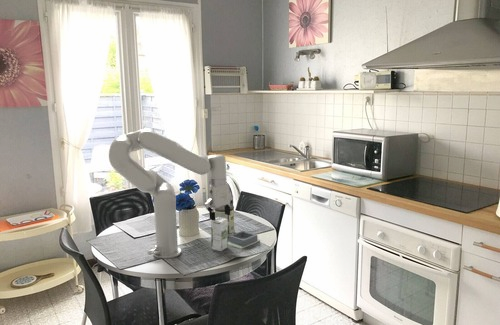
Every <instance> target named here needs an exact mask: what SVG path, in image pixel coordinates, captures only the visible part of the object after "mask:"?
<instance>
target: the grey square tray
mask: <svg viewBox="0 0 500 325" xmlns="http://www.w3.org/2000/svg"><path fill="white" fill-rule="evenodd" d="M241 238H246V239H241ZM258 239H259V236H258V234H255V233H252V232H249V231H245V230H241V231H239V232H235V233H234V234H232V235H229V236H228V242H231V243H234V244H237V245H240V246H243V247H244V246H246V245H249V244H251V243H254V242H256V241H258ZM256 243H257V242H256ZM254 244H255V243H254ZM249 246H250V245H249Z"/></svg>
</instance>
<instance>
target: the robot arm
mask: <svg viewBox="0 0 500 325" xmlns="http://www.w3.org/2000/svg"><path fill="white" fill-rule="evenodd" d="M142 149H144V150H145V151H149V152H150V153H153V154H155V155H158V156H159V157H160V158H161V157H162V158H164V159H166V160H168V161H170V162H172V163H174V164H176V165H178V166H180V167H182V168H183V169H186V170H188V171H190V172H193V173H195V174H197V175H201V176H204V175H206V174H207V173H209V180H210V181H209V182H208V185H209V184H210V185H209V189H208V199H207V201H206V202H205V203H204V207H205V209H206V211H208V212H209V214H208V215H209V220H210V221H211V220H215V208H218V207H221V206H225V205H226V206H225V214H226V215H230V207H231V205H232V203H233V200H234V196H233V195H231V190H230V186H229V183H228V182H227V163H226V162H227V160H226V159H227V158H226V156H225V155H224V154H211V155H208V154H207V155H205V154H199V155H198V154H196V153H195V152H194V153H193V152H192V151H190V150H188V149H186V148H185V147H183V145H181V144H180V143H178V142H177V141H175V140H172V139H170V138H168V137H166V136H163V135H162V134H159V133H157V132H155V131H154V130H153V129H151V128H148V127H147V128H142V129H139V130H136V131H133V132H129V133H126V134H122V135H120V136H119V135H118V136H117V137H116V138H114V140H113V141H112V142H111V144H110V147H109V149H108V150H109V151H108V160H109V163H110V166H111V167H112V168H113V169H114V171H116V172H117V173H118V174H119V175H120V176H121V177H122V178H124V179H126V181H127V182H128V183H130V184H131V185H133V187H135V188H136V189H137V190H139V191H140V192H141V193H146V194H147V193H148V194H150V196H152V197H153V207H154V208H153V210H154V223H155V226H154V227H155V243H156V245H154V246H153V248H152V249H149V250H147V255H148V256H150V255H153V256H154V257H155V258H157V259H165V260H167V259H173V258H176V257H178V256H180V255H181V254H182V248H180V247H179V245H178V224H177V223H178V222H177V197H176V193H175V189H174V187H173V186H172V184H171V183H170V182H168V181H167V180H166V179H165V178H163V177H162V176H161V175H159V174H158V173H157V172H156V171H155V170H153V169H151V168H149V167H148V168H144V167H143V166H142V165H140V164H139V163H138V162H137V161H135V159H133V158H132V157H131V154H130V153H133V152H137V151H139V150H140V151H141V150H142Z"/></svg>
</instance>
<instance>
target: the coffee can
mask: <svg viewBox="0 0 500 325" xmlns="http://www.w3.org/2000/svg"><path fill="white" fill-rule="evenodd" d="M225 206H226V205H225ZM225 206H221V207H218V208H215V210H214V212H215V218H217V217H221V218H225V219H228V237H229V236H230V235H232V234H235V233H236V232H235V206H234V205H233V204H231V207H230V215H226V214H225Z"/></svg>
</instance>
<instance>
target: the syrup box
mask: <svg viewBox="0 0 500 325" xmlns="http://www.w3.org/2000/svg"><path fill="white" fill-rule="evenodd" d="M210 221H211V222H210V224H211V225H210V226H211V227H210V230H211V231H210V235H211V236H210V237H211V238H210V239H211V244H210V245H211V248H210V249H211V250H213V251H218V252H223V251H224V250H226V249H228V247H229V245H228V242H229V236H228V219H225V218H221V217H217V218H215V220H210Z"/></svg>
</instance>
